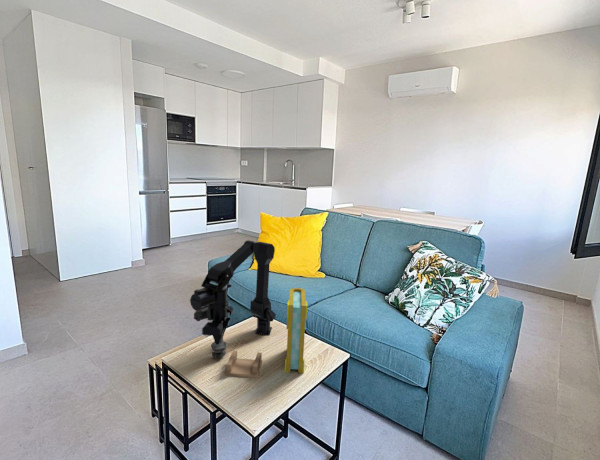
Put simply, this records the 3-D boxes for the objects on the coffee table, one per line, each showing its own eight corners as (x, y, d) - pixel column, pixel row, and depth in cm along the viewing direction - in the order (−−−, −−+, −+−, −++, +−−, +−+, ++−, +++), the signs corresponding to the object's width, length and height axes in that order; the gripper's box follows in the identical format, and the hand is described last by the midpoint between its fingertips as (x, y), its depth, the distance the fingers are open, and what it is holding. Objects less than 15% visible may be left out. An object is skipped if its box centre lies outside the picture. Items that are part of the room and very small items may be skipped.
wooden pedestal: (232, 360, 120) (232, 350, 120) (262, 362, 120) (262, 352, 119) (225, 375, 111) (225, 364, 111) (257, 377, 111) (257, 367, 110)
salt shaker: (207, 356, 120) (207, 325, 118) (216, 348, 125) (216, 318, 123) (221, 359, 118) (221, 328, 116) (229, 351, 124) (230, 321, 121)
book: (303, 373, 115) (307, 305, 110) (284, 372, 115) (287, 305, 110) (303, 347, 131) (306, 288, 127) (286, 346, 131) (288, 287, 127)
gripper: (205, 290, 128) (206, 327, 130) (186, 310, 109) (187, 353, 112) (233, 292, 127) (233, 329, 130) (219, 313, 109) (219, 355, 112)
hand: (218, 341), depth 121 cm, fingers closed on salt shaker, 3 cm apart
